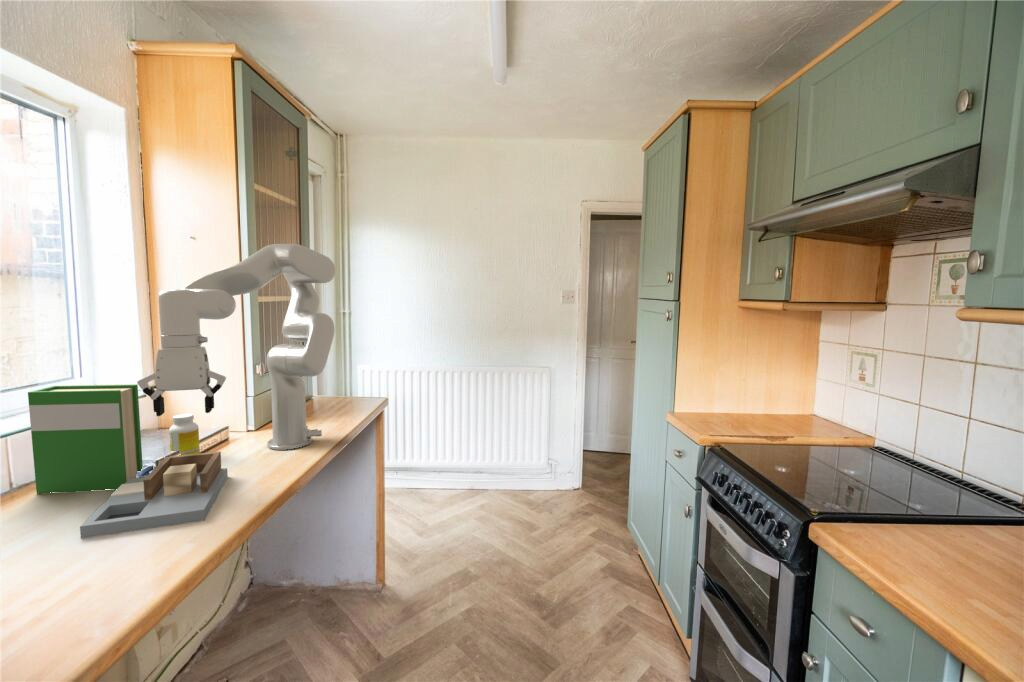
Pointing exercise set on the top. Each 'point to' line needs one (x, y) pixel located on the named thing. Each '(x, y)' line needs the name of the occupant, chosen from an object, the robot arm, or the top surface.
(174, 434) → the supplement bottle
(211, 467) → the brown wooden u-shaped frame
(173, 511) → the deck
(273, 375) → the robot arm
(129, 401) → the hardback book
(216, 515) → the top surface
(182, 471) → the block
